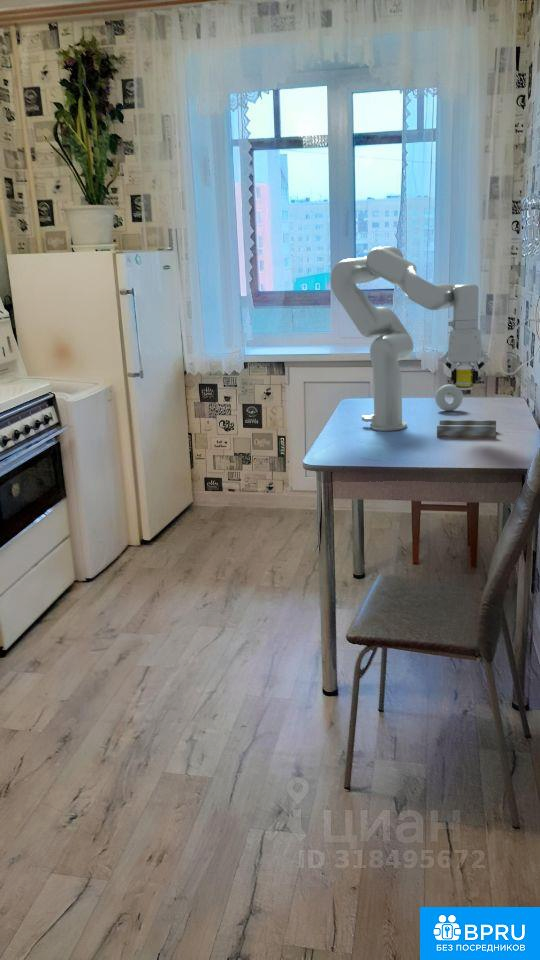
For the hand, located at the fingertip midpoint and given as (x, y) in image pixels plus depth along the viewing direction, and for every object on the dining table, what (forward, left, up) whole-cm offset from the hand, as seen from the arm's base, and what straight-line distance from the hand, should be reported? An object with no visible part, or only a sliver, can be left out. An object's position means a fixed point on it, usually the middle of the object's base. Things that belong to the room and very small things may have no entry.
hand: (464, 382), depth 244 cm
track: (+1, +1, -17) cm, 17 cm away
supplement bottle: (0, 0, -2) cm, 2 cm away
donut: (-8, +37, -17) cm, 42 cm away
